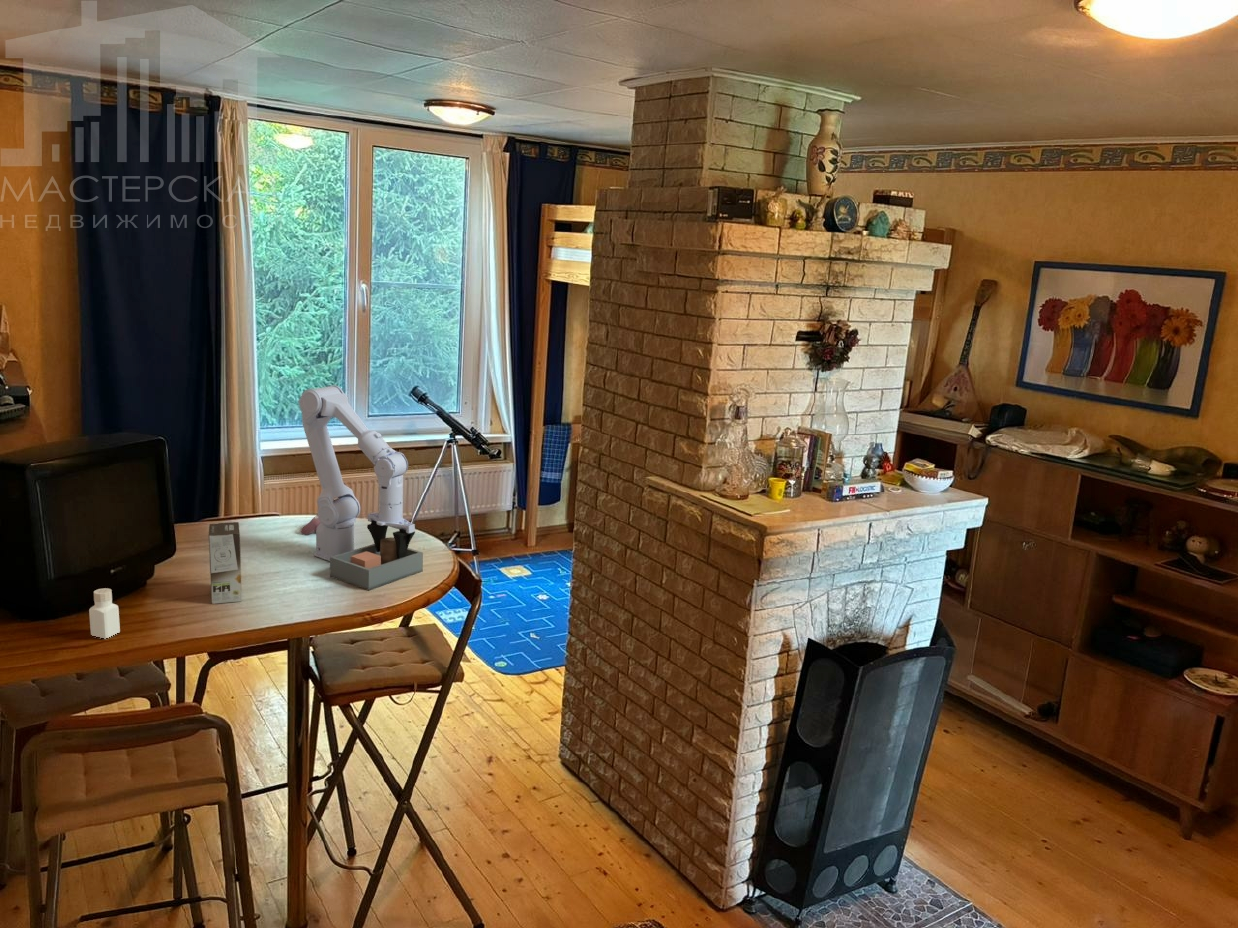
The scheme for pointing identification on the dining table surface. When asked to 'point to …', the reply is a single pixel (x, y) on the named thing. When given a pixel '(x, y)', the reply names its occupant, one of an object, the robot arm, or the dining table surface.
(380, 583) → the tote
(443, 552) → the dining table surface
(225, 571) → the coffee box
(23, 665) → the dining table surface
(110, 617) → the white pill bottle
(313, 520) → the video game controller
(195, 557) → the dining table surface
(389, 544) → the cylinder
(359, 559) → the cube
